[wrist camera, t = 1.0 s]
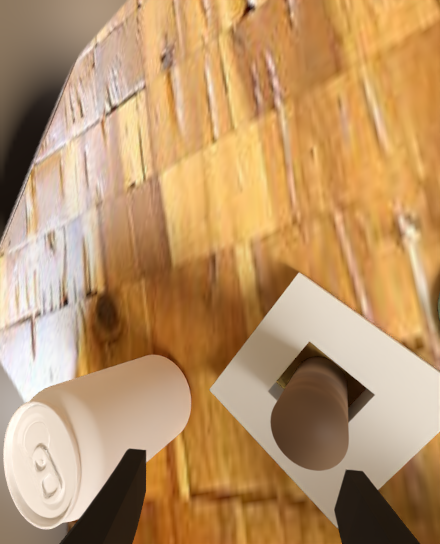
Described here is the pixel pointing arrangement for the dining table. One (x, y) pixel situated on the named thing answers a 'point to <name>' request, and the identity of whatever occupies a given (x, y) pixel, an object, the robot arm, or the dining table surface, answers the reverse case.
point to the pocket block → (358, 363)
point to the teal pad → (439, 306)
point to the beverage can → (90, 434)
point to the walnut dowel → (313, 416)
